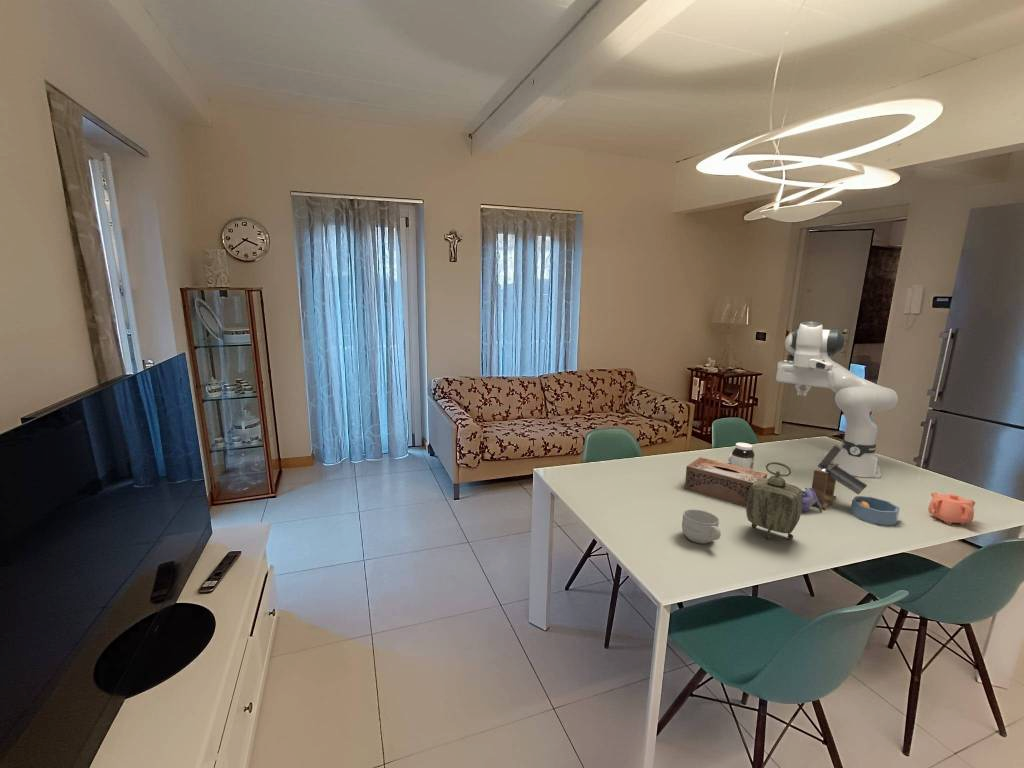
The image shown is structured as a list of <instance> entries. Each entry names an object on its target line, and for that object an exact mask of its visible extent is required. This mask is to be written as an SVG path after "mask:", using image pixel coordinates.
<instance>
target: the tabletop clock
mask: <svg viewBox="0 0 1024 768" xmlns="http://www.w3.org/2000/svg"><path fill="white" fill-rule="evenodd" d="M771 465H777V466H782V467H784V468H786V469H787V470H788V473H785V474H784V473H783V474H782V473H780V471H779V470H776V471H775V472H774V471H771V470H770V469H769V468H768V467H769V466H771ZM765 469H766V471H767V473H768V472H769V473H770V474H771V476H770V477H769V478H768V477H767V478H759V479H758V480H757V481H756V482H755V483H754V484H753V485H752V486H751V488H750V490H749V492H748V497H747V502H746V506H745V507H746V508H745V512H746V518H747V521H748V522H750V523H751V527H752V528H755V529H756V528H758V527H759V528H763V529H765V530H767V533H766V534H765V539H767V540H770V539H771V538H772V536H771V531H772V532H777V533H781V534H787V538H788V539H789V540H793V538H794V535H793V534H792V533H793V531H794V530H795V528H796V526H797V524H798V523H799V521H800V519H801V515H802V512H803V511H802V505H803V495H802V491H803V490H802V489H801V488H800V487H798V486H797V485H794V484H792V483H789V482H786V480H785V479H784V478H783V477H788V476H790V474H792V470H791V468H790V466H788V465H786V464H784V463H781V462H778V461H771V462H769V463H767V464H766V465H765Z"/></svg>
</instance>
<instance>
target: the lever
mask: <svg viewBox="0 0 1024 768" xmlns="http://www.w3.org/2000/svg"><path fill="white" fill-rule="evenodd" d="M842 449H843V448H842V446H840V445H839V444H837V443H836V444H835V445H833V447H832V448H831V449H830V450H829V451H828V453H827V454H826V455H825V456H824V458H823V459H822V461H820V462H819V463H818V464H817V466H816V467H817V468H819V470H821V471H825V472H828V475H829V476H830V477H832V478H833V479H835V480H836V482H838V483H840V484H841V485H843V486H844V487H846V488H847V489H848V490H850V491H852V492H853V493H855V494H856V495H857V496H860V494H861V493H862V492H863V491H864V489H866V487H868V484H866V483H865V482H863V481H862V480H861V479H858V478H857V477H856V476H853V475H851V474H849V473H847V472H846V471H844V470H843V469H841V468H840V467H838V466H836V465H835V464H833V465H830V463H833V461H835V459H836V456H837V455H838V454H839V452H840V451H841V450H842Z"/></svg>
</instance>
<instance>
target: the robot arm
mask: <svg viewBox="0 0 1024 768" xmlns="http://www.w3.org/2000/svg"><path fill="white" fill-rule="evenodd" d="M844 346H845V334H843V332H842V331H840V329H823V324H822V323H821V322H819V321H807V320H806V321H803V322H800V324H799V328H798V329H796V330H795V331H793V332H790V333H789V334H787V337H786V338H785V340H784V347H785V349H786V350H787V352H788V353H789V354H786V359H782V360H780V361H778V362H777V367H776V368H777V372H776V376H775V380H776V382H778V383H785V384H793V385H795V390H796V392H797V396H801V397H807V395H808V392H809V391H810V390H811V389H812V387H816V388H823V389H830V390H831V391H833V393H835V396H834V401H835V404H836V406H837V407H838V409H839V410H840V411H842V413H843V415H844V419H845V429H844V430H845V432H844V437H843V439H842V442H841V447H842V448H843V449H842V450H841V451H840V452H839V454H838V455H837V456H836V457H835V458H834V462H833V463H835V464H838V467H840V468H841V469H843V470H844V471H846V472H847V473H849V474H851V475H852V476H854V477H860V478H876V479H881V478H882V474H881V473H882V472H881V469H882V468H881V466H879V465H877V464H878V458H877V455H876V449H877V444H876V440H877V435H878V425H877V424H876V423H875V422H874V421H872V420H871V416H870V413H872V412H873V413H875V412H884V411H885V412H886V411H888V410H892V409H894V408H895V407H896V406H897V405H898V402H899V396H898V394H897V392H896V391H895V390H894V389H892V388H889V387H885V386H883V385H879V384H876V383H875V382H873V381H869V380H867V379H865V378H862V377H860V376H858V375H856V374H854V373H853V372H852V371H850V370H849V369H847V368H846V367H844V366H842V365H841V364H839V363H837V362H835V361H833V360H832V359H831V357H830V356H832V357H834V356H835V355H836V354H838V353H840V352H841V351H842V350H843V348H844ZM801 386H805V390H804V391H803V390H801V388H800V387H801Z"/></svg>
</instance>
